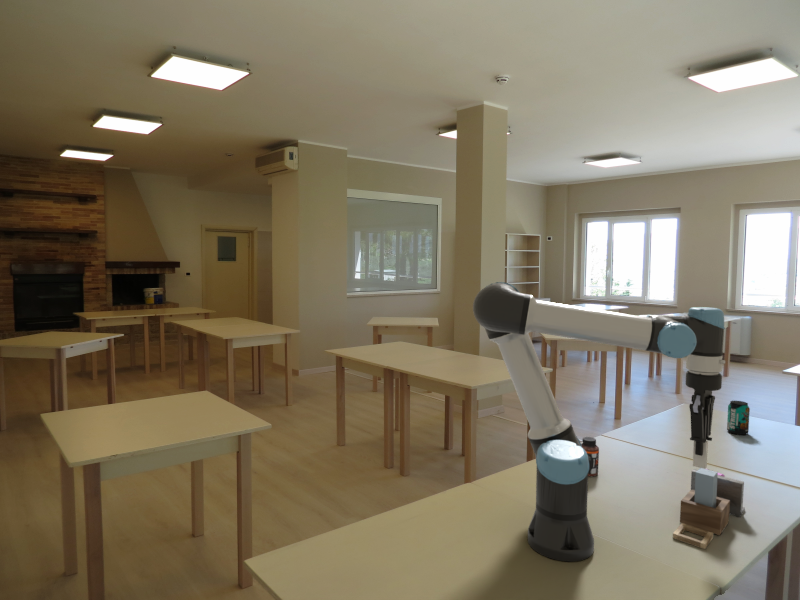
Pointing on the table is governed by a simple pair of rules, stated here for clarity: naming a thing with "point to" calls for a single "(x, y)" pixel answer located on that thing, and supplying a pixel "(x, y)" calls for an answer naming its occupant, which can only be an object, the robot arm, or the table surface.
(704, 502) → the light blue square peg
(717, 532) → the brown wooden box
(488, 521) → the table surface
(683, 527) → the stand
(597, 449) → the supplement bottle
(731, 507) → the backstop
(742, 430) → the beverage can
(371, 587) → the table surface
